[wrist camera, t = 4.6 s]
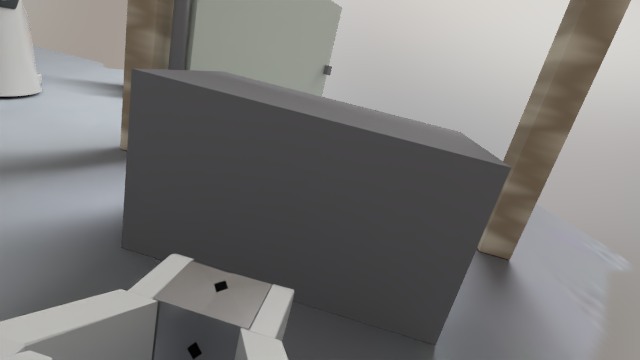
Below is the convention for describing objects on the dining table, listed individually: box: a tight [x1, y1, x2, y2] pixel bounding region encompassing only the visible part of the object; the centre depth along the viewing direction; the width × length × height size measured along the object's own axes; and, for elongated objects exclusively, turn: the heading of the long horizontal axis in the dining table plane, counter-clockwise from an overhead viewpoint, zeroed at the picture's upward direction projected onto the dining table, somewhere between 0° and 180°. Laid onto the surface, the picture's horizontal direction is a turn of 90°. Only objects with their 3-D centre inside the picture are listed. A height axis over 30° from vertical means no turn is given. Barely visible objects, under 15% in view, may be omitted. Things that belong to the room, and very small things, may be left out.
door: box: [168, 0, 342, 97], centre depth 39 cm, size 27×3×18 cm, turn 153°
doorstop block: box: [122, 68, 511, 345], centre depth 20 cm, size 16×9×9 cm, turn 80°
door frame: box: [120, 0, 631, 260], centre depth 26 cm, size 33×2×22 cm, turn 80°
